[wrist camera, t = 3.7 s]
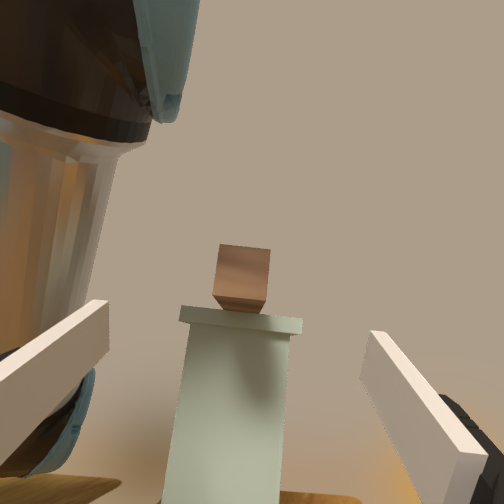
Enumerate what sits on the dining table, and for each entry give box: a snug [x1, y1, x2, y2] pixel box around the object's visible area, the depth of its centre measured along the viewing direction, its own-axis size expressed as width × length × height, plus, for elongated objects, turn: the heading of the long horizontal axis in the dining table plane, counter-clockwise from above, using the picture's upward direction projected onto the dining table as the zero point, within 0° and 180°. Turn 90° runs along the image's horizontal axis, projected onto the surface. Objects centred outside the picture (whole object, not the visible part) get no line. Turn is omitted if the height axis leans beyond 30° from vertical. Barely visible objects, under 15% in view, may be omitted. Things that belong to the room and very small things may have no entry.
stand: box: [161, 305, 303, 504], centre depth 29 cm, size 14×14×30 cm
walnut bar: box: [212, 244, 270, 314], centre depth 31 cm, size 26×4×4 cm, turn 1°
